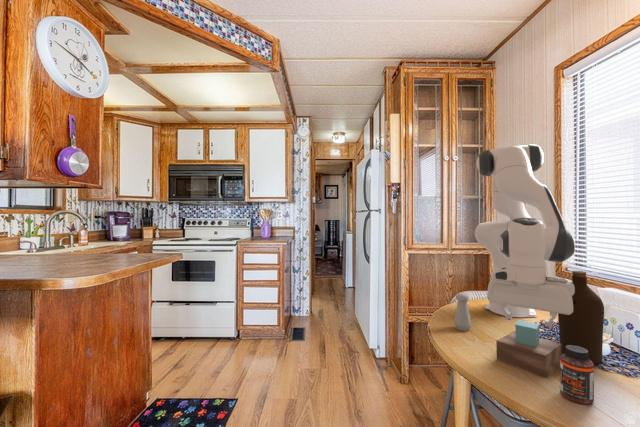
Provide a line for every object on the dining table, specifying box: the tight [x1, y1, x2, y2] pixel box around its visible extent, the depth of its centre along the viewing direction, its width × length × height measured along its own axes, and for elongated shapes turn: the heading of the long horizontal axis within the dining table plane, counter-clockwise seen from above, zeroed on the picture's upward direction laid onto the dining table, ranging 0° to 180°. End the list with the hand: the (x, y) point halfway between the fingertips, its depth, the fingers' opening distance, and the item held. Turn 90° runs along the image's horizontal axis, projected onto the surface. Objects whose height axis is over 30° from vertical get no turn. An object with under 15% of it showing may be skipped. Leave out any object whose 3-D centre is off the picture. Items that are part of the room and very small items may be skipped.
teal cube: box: [514, 319, 540, 347], centre depth 87 cm, size 5×5×5 cm
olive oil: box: [557, 270, 605, 365], centre depth 90 cm, size 11×11×25 cm
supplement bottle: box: [559, 345, 595, 405], centre depth 70 cm, size 6×6×11 cm
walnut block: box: [495, 330, 562, 379], centre depth 87 cm, size 12×12×6 cm
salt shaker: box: [453, 292, 472, 332], centre depth 112 cm, size 6×6×13 cm
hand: (527, 323), depth 87 cm, fingers open, 8 cm apart
